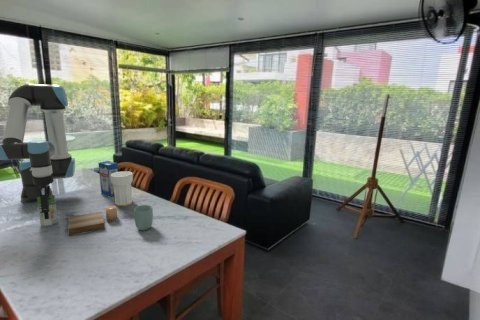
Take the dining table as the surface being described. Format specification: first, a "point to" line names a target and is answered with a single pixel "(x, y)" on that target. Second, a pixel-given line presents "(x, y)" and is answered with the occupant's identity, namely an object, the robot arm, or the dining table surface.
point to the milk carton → (107, 177)
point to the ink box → (51, 207)
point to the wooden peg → (111, 213)
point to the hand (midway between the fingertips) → (49, 219)
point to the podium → (85, 223)
